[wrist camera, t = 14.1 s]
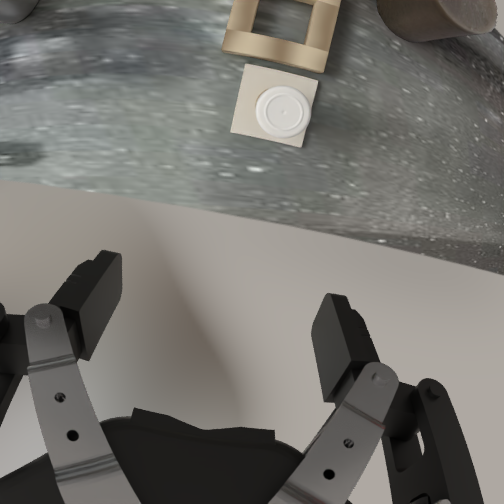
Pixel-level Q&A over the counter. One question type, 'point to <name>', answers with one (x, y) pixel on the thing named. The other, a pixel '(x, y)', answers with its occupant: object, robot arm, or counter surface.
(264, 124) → the sprinkles bottle
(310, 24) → the collar
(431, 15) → the pillar candle
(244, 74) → the tile
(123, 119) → the counter surface
